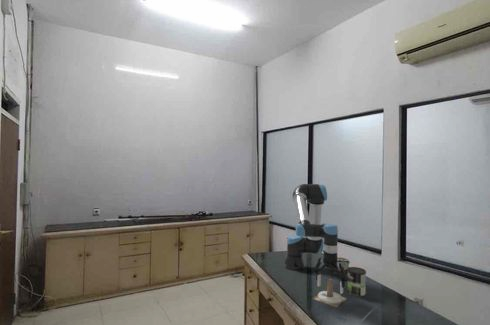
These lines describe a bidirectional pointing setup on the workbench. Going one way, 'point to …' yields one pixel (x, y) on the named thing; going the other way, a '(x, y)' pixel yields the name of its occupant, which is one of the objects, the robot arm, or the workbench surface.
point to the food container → (345, 264)
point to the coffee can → (356, 281)
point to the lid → (330, 294)
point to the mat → (328, 303)
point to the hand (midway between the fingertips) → (330, 289)
